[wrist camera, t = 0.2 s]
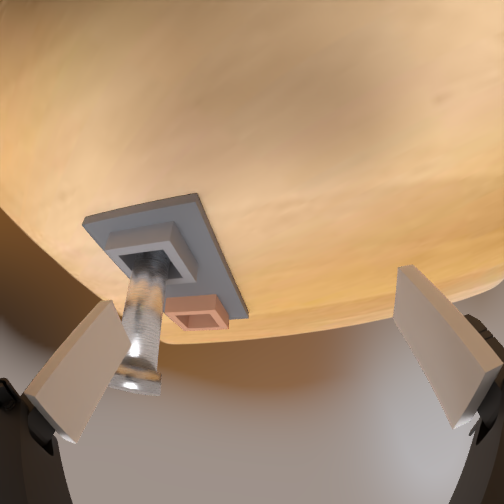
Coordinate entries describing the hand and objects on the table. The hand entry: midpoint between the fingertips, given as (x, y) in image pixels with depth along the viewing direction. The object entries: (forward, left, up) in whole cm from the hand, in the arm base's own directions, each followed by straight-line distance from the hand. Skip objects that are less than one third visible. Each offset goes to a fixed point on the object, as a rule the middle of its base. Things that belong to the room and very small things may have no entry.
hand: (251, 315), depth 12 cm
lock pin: (+12, -13, -14) cm, 22 cm away
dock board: (+20, -13, -15) cm, 28 cm away
